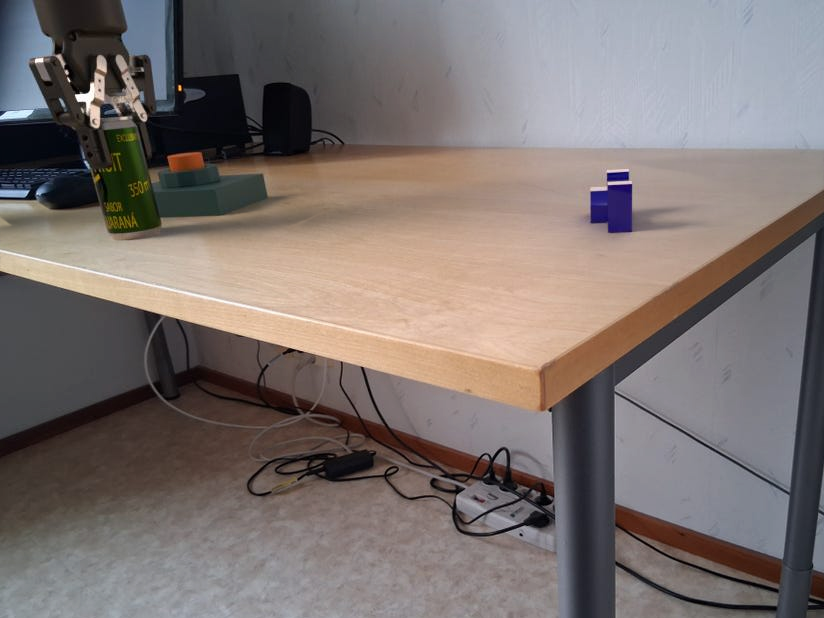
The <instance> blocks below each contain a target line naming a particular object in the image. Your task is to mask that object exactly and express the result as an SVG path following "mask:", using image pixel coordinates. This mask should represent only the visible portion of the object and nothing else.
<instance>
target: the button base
mask: <svg viewBox="0 0 824 618" xmlns="http://www.w3.org/2000/svg"><path fill="white" fill-rule="evenodd" d="M204 166H205V167H203V168H199V169H193V170H185V171H171V170H170V167H169V168H166V169H165V168H164V169H161V170H159V171H158V172H157V176H158V180H159V181H155V182H151V183H152V187H153V191H154V195H155V199H156V203H157V207H158V211H159V215H160V219H163V218H165V219H166V218H167V219H168V218H188V217H189V218H190V217H191V218H192V217H193V218H195V217H220V216H224V215H226V214H229V213H232V212H235V211H237V210H240V209H242V208H244V207H247V206H249V205H252V204H255V203H258V202H260V201H263V200H265V199H268V198H269V197H268V191H267V186H266V181H265V177H264V173H262V172H261V173H244V174H224V175H223V174H221V175H220V171H219V166H218V164H216V163H204Z"/></svg>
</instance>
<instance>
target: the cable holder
mask: <svg viewBox="0 0 824 618" xmlns="http://www.w3.org/2000/svg"><path fill="white" fill-rule="evenodd" d="M589 189H590V192H589V193H590V194H589V195H590V198H589V201H590V202H589V203H590V208H589V210H590V211H589V213H590V224H599V223H607V233H608V234H609V233H611V234H613V233H632V232H633V182H632V180H630V170H629V168H620V169H619V168H618V169H606V186H591V187H590V188H589Z"/></svg>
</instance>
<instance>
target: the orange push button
mask: <svg viewBox="0 0 824 618" xmlns="http://www.w3.org/2000/svg"><path fill="white" fill-rule="evenodd" d="M202 153H203V152H200V151H195V152H184V153H176V154H171V155H168V156H166V157H167V162H168V165H169V168H170V170H171V171H185V170H193V169H199V168H203V167H205V166H204V164H205V162H204V159H203V154H202Z"/></svg>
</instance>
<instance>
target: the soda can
mask: <svg viewBox="0 0 824 618" xmlns="http://www.w3.org/2000/svg"><path fill="white" fill-rule="evenodd" d="M132 119H133V117H132V116H122V117H119V116H111V117H109V116H108V117H100V126H99V128H98V129H103V131H104V135H105V139H106V142H107V146H108V149H109V153H110V157H111V160H112V167H110V168H106V169H92V168H91V167H90V166H89V165H88V166H89V170H90V173H91V176H92V181H93V184H94V188H95V192H96V195H97V200H98V202H99V206H100V209H101V212H102V215H103V216H102V217H103V220H104V223H105V226H106V230H107V233H108V234H109V236H110V237H111V239H113V240H114V241H129V240H138V239H143V238H148V237H151V236H156V235H158V234H160V233H161V231H162V227H163V226H162V225H163V223H162V220H161V219H162V218H160V215H159V211H158V207H157V203H156V199H155V195H154V191H153V187H152V183H153V182H152V179H151V175H150V172H149V171H150V170H149V166H148V163H147V160H146V159H145V155H144V151H143V147H142V143H141V139H140V135H139V131H138V127H137V125H136V124H135V122H134V121H133V120H132Z"/></svg>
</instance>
